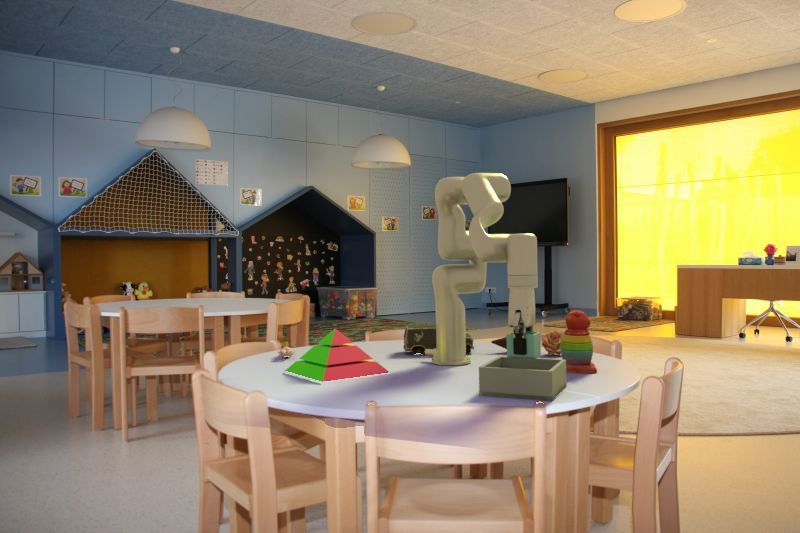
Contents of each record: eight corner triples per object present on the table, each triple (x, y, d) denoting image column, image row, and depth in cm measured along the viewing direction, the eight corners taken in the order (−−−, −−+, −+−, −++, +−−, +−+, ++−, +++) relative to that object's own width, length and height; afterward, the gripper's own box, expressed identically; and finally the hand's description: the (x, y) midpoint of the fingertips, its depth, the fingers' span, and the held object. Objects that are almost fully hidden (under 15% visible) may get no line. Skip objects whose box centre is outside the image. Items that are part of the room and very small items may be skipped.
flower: (536, 347, 228) (536, 330, 223) (561, 341, 228) (562, 324, 224) (547, 366, 220) (547, 349, 215) (573, 360, 221) (573, 343, 216)
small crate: (506, 358, 163) (506, 334, 163) (514, 354, 169) (513, 331, 169) (534, 359, 160) (534, 335, 160) (540, 355, 166) (540, 332, 166)
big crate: (479, 395, 160) (478, 367, 160) (499, 381, 177) (498, 356, 177) (552, 401, 153) (552, 371, 153) (566, 386, 169) (566, 359, 169)
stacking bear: (597, 373, 186) (597, 311, 186) (561, 373, 188) (560, 311, 188) (594, 367, 197) (593, 308, 196) (560, 366, 199) (559, 308, 198)
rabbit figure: (278, 358, 232) (276, 358, 218) (277, 342, 233) (276, 340, 219) (295, 358, 233) (295, 357, 219) (295, 341, 234) (295, 339, 220)
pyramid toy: (348, 365, 211) (347, 321, 211) (394, 376, 191) (393, 327, 191) (278, 375, 196) (277, 328, 196) (320, 388, 176) (319, 335, 176)
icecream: (493, 336, 224) (536, 339, 224) (491, 328, 231) (533, 331, 231) (491, 355, 226) (534, 358, 226) (489, 346, 233) (530, 349, 233)
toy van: (403, 351, 236) (402, 324, 236) (470, 350, 237) (470, 322, 237) (404, 356, 226) (403, 327, 225) (475, 354, 226) (474, 325, 226)
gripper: (516, 281, 174) (517, 347, 174) (498, 283, 158) (500, 356, 158) (544, 280, 171) (545, 348, 171) (529, 283, 155) (530, 358, 155)
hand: (523, 351), depth 165 cm, fingers closed on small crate, 7 cm apart
